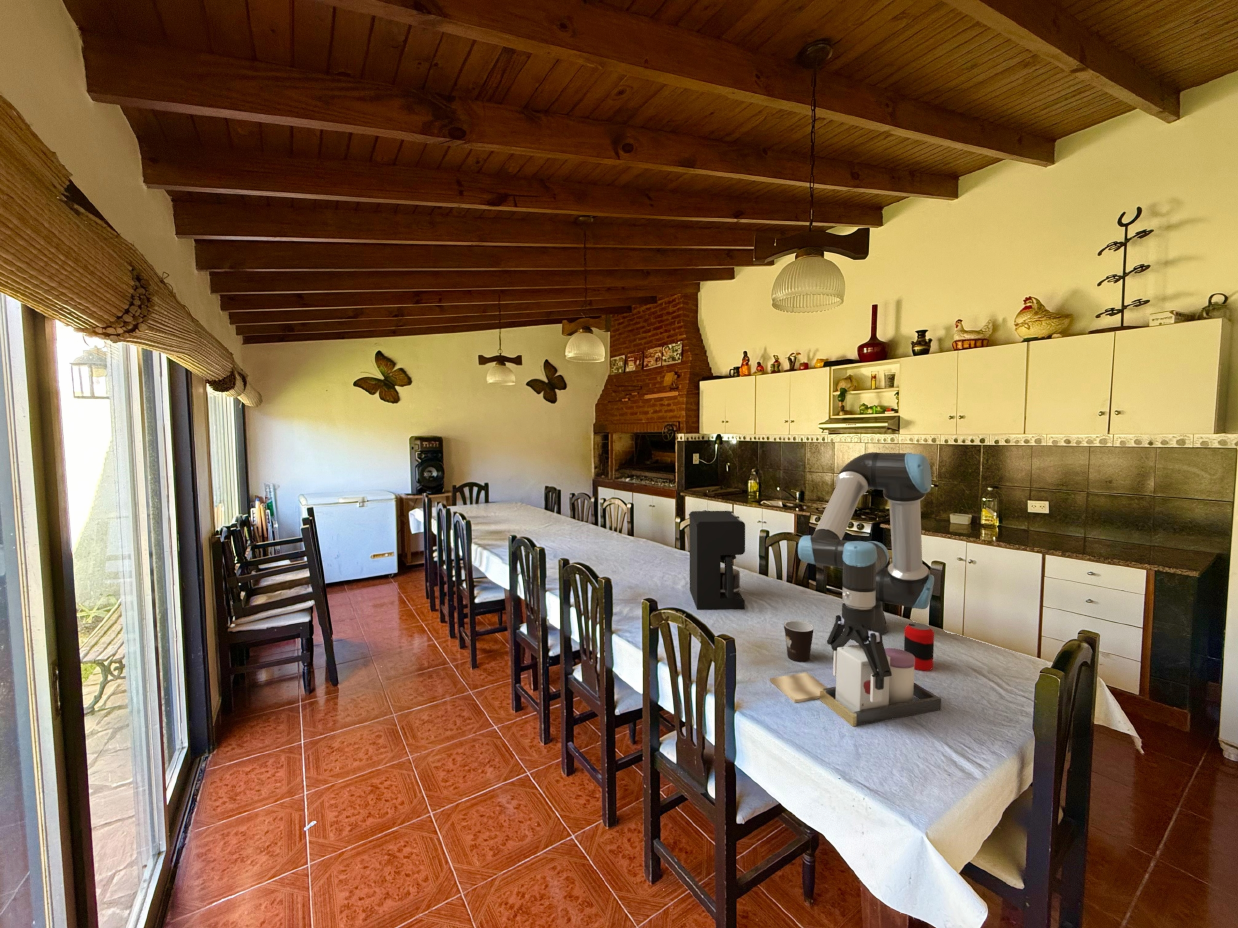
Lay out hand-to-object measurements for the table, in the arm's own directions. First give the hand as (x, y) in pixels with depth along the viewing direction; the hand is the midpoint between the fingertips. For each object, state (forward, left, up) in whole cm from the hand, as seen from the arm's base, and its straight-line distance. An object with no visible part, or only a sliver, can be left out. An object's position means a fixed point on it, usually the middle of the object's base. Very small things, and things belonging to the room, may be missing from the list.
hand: (856, 687), depth 133 cm
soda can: (-34, -15, -6) cm, 38 cm away
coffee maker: (-2, -84, -6) cm, 84 cm away
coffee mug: (-4, -31, -6) cm, 32 cm away
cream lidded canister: (-12, 0, -6) cm, 13 cm away
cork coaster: (+7, -13, -6) cm, 16 cm away
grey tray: (-7, 0, -6) cm, 9 cm away
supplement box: (-2, 0, -6) cm, 6 cm away
